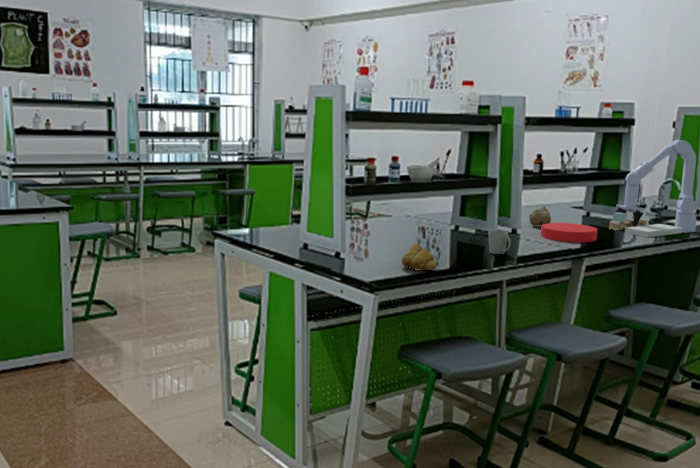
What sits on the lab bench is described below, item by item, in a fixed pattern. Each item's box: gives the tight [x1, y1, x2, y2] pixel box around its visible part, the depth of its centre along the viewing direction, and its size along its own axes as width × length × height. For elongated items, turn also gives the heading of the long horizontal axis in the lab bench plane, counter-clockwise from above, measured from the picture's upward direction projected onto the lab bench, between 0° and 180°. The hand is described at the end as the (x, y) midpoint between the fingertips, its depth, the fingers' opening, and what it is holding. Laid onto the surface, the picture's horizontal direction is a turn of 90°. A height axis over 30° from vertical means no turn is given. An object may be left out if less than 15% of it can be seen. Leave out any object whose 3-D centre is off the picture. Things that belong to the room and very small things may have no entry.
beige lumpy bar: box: [608, 218, 648, 231], centre depth 326 cm, size 22×5×4 cm, turn 121°
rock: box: [528, 206, 552, 227], centre depth 326 cm, size 12×10×10 cm
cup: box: [488, 230, 512, 255], centre depth 259 cm, size 8×10×8 cm
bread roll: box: [401, 243, 437, 271], centre depth 231 cm, size 13×10×8 cm
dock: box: [624, 223, 683, 238], centre depth 314 cm, size 26×12×2 cm, turn 121°
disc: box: [540, 222, 598, 243], centre depth 299 cm, size 24×5×24 cm
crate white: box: [632, 211, 646, 220], centre depth 329 cm, size 4×4×4 cm
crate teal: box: [612, 212, 627, 222], centre depth 321 cm, size 4×4×4 cm
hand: (628, 225), depth 326 cm, fingers open, 7 cm apart
